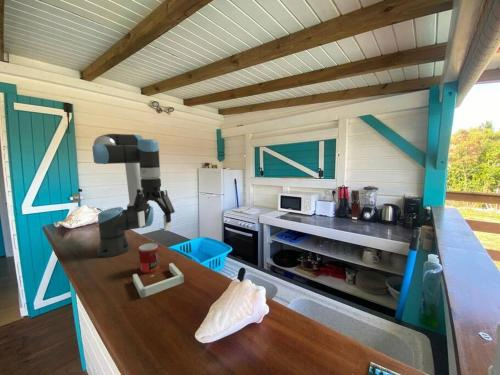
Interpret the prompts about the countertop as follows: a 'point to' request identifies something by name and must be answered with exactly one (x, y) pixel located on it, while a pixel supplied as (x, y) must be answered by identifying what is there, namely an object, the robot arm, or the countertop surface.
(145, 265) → the canned food
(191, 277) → the countertop surface
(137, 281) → the bay
